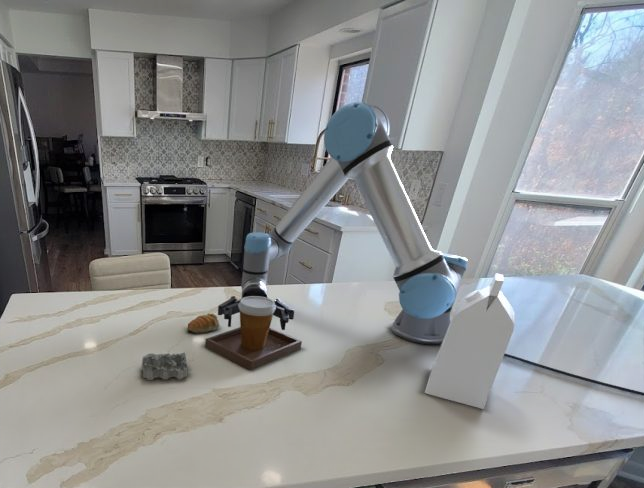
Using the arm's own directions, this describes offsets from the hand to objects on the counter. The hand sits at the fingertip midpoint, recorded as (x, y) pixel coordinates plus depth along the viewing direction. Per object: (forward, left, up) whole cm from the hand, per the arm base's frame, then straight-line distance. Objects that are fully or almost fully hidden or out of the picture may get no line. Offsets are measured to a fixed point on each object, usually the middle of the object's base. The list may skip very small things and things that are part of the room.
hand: (256, 323), depth 108 cm
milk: (-41, -23, -8) cm, 48 cm away
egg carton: (+6, +25, -8) cm, 27 cm away
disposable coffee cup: (+2, -2, -8) cm, 8 cm away
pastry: (+20, 0, -8) cm, 21 cm away
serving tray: (+2, -2, -8) cm, 9 cm away
